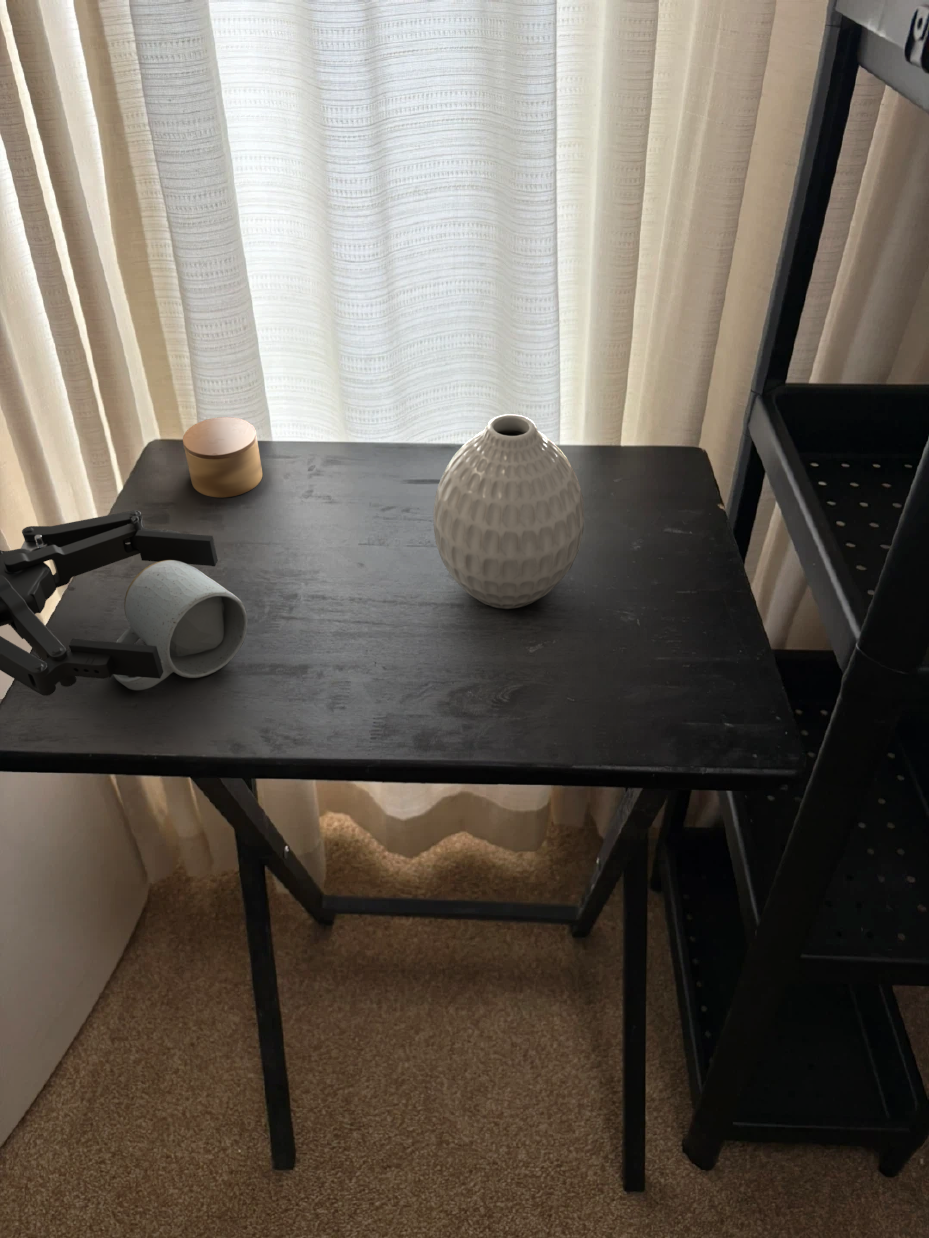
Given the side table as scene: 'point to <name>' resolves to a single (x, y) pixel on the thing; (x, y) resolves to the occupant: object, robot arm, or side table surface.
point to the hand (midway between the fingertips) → (188, 603)
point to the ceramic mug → (182, 621)
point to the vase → (508, 514)
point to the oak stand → (223, 456)
